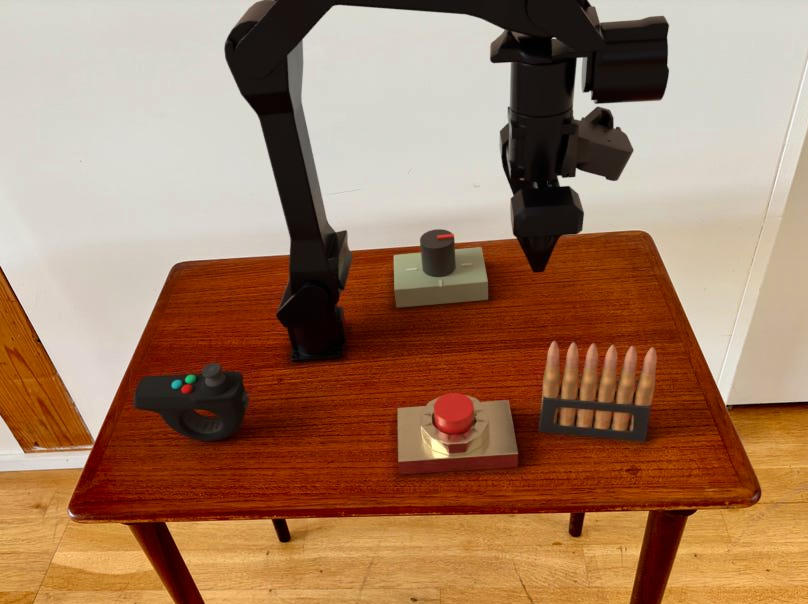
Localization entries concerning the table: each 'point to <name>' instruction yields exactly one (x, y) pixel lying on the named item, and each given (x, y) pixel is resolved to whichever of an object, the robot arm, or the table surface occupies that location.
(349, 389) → the table surface
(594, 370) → the ammunition clip
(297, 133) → the robot arm
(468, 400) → the press knob
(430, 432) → the button housing
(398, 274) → the dial panel
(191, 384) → the controller
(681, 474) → the table surface
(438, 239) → the dial
